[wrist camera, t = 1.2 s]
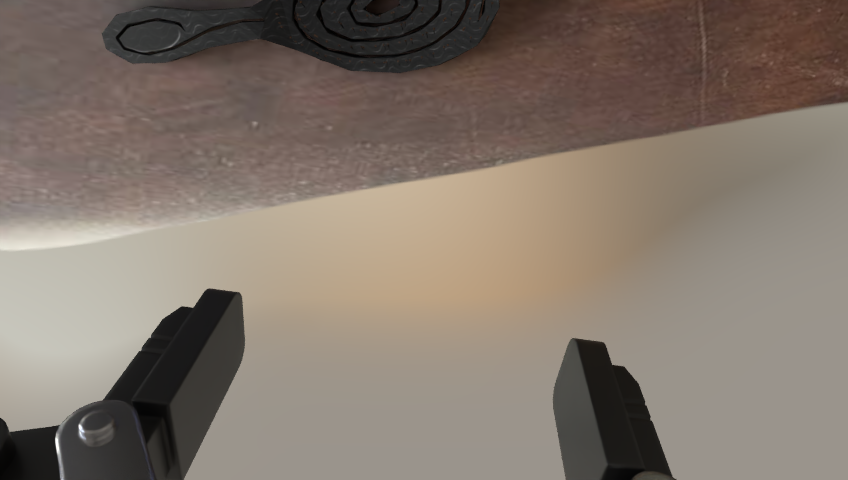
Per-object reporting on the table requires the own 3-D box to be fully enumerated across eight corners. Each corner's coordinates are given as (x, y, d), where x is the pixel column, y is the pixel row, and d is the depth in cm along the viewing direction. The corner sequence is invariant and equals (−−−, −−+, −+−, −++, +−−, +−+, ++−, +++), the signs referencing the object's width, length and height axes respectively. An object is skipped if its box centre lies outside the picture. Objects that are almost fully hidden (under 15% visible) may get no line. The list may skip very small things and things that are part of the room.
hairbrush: (59, -31, 32) (497, -90, 31) (94, -30, 35) (490, -83, 34) (110, 113, 35) (505, 66, 34) (137, 102, 39) (498, 59, 37)
